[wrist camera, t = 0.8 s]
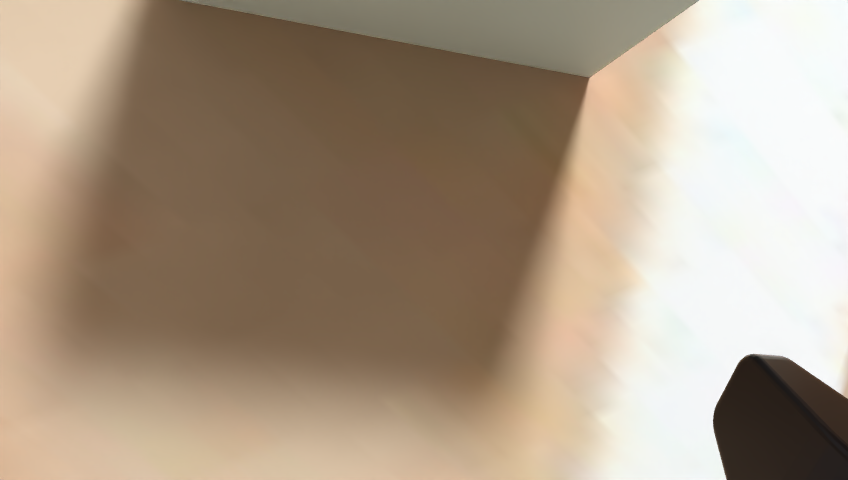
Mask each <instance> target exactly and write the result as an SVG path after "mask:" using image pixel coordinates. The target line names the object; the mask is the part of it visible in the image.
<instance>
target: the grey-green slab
mask: <svg viewBox="0 0 848 480" xmlns="http://www.w3.org/2000/svg"><path fill="white" fill-rule="evenodd" d="M181 1H186V2H191V3H197V4H202V5H207V6H213V7H218V8H223V9H228V10H234V11H239V12H244V13H250V14H255V15H260V16H265V17H271V18H276V19H281V20H287V21H292V22H297V23H303V24H308V25H313V26H318V27H324V28H329V29H334V30H340V31H345V32H350V33H355V34H361V35H366V36H371V37H377V38H382V39H387V40H393V41H398V42H403V43H408V44H414V45H419V46H424V47H430V48H435V49H440V50H445V51H451V52H456V53H461V54H467V55H472V56H477V57H483V58H488V59H493V60H498V61H504V62H509V63H514V64H520V65H525V66H530V67H535V68H541V69H546V70H551V71H557V72H562V73H567V74H573V75H578V76H583V77H588V78H590V77H591V76H592V75H594V74H595V73H597V72H598V71H600V70H601V69H602V68H604V67H605V66H607V65H608V64H610V63H611V62H612V61H614V60H615V59H617V58H618V57H619V56H621V55H622V54H624V53H625V52H627V51H628V50H629V49H631V48H632V47H634V46H635V45H636V44H638V43H639V42H641V41H642V40H644V39H645V38H646V37H648V36H649V35H651V34H652V33H653V32H655V31H656V30H658V29H659V28H661V27H662V26H663V25H665V24H666V23H668V22H669V21H670V20H672V19H673V18H675V17H676V16H678V15H679V14H680V13H682V12H683V11H685V10H686V9H687V8H689V7H690V6H692V5H693V4H695V3H696V2H697V1H699V0H181Z"/></svg>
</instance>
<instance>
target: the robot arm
mask: <svg viewBox="0 0 848 480" xmlns="http://www.w3.org/2000/svg"><path fill="white" fill-rule="evenodd" d="M713 427H714V433H715V437H716V441H717V445H718V448H719V452H720V456H721V460H722V464H723V468H724V471H725V475H726V479H727V480H848V399H847V398H845V397H844V396H843V395H841V394H840V393H838V392H837V391H835V390H834V389H832V388H831V387H829V386H828V385H826V384H825V383H824V382H822V381H821V380H819V379H818V378H816V377H815V376H813V375H812V374H810V373H809V372H808V371H806V370H805V369H803V368H802V367H800V366H799V365H797V364H796V363H794V362H793V361H791V360H790V359H788V358H785V357H782V356H775V355H762V354H750V355H747V356H745V357H744V358H743V359H741V360H740V362H739V363H738V365H737V367H736V369H735V371H734V373H733V374H732V376H731V378H730V380H729V382H728V384H727V386H726V388H725V390H724V392H723V393H722V395H721V397H720V399H719V401H718V403H717V405H716V407H715V411H714V416H713Z"/></svg>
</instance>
